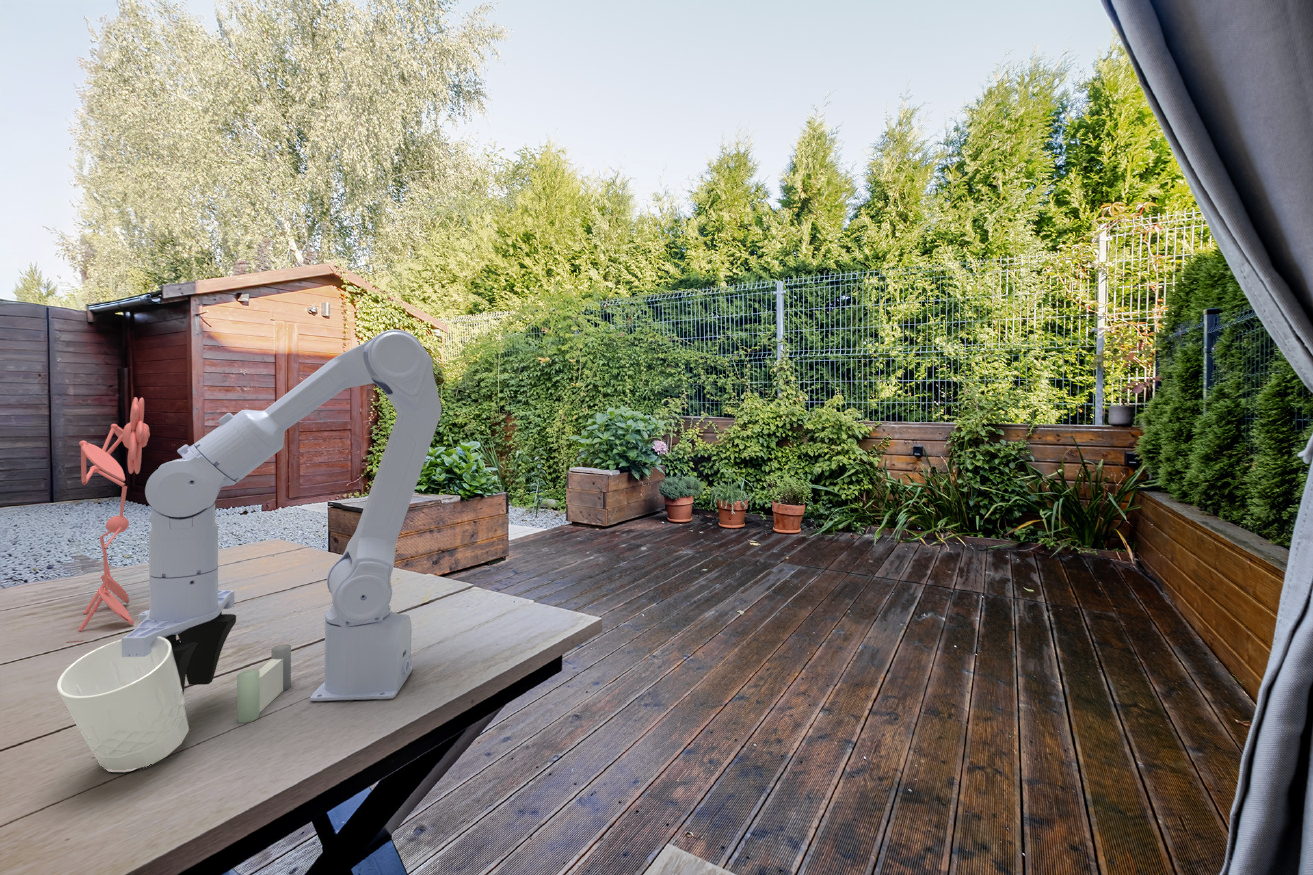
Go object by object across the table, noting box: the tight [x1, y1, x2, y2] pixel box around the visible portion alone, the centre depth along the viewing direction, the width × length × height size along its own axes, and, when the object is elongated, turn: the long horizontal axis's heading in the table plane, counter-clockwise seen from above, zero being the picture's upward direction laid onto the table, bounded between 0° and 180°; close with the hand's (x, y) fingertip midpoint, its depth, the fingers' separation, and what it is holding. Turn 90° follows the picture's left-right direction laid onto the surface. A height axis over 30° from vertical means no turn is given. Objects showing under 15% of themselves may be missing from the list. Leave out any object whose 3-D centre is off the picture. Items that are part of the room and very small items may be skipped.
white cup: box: [56, 636, 190, 770], centre depth 55 cm, size 8×8×10 cm
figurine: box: [66, 396, 151, 644], centre depth 93 cm, size 15×26×35 cm, turn 41°
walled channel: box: [236, 643, 292, 724], centre depth 67 cm, size 14×9×5 cm, turn 97°
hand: (184, 694), depth 63 cm, fingers open, 5 cm apart
